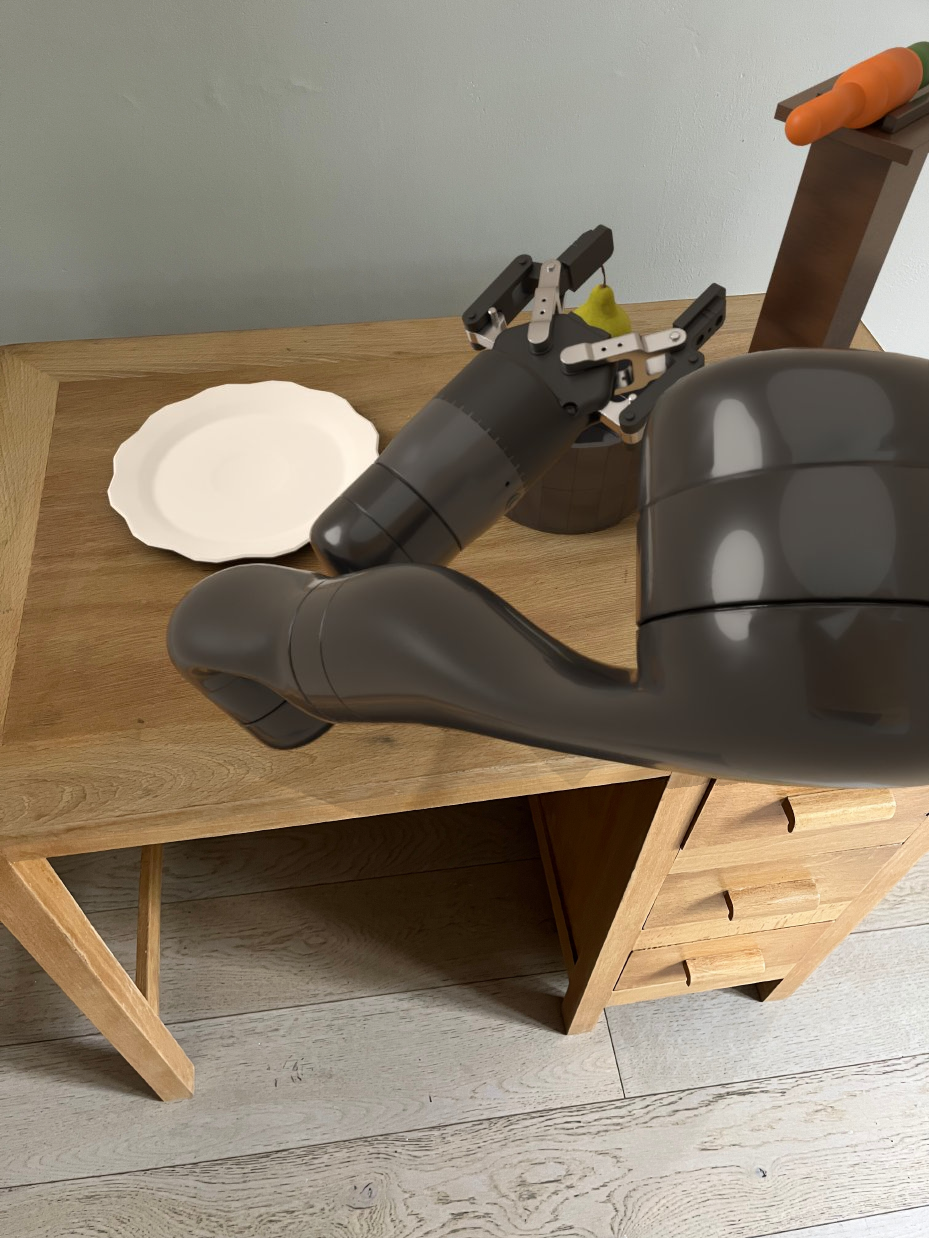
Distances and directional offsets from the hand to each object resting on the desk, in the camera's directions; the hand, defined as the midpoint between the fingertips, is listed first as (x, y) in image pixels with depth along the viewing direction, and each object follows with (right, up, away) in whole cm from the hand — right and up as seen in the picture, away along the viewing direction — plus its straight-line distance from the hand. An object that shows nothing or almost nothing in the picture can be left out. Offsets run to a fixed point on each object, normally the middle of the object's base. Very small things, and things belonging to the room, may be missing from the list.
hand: (662, 265), depth 51 cm
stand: (+17, -6, +32) cm, 37 cm away
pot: (-2, -7, +31) cm, 32 cm away
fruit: (+2, +7, +43) cm, 44 cm away
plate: (-32, -7, +31) cm, 45 cm away
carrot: (+13, +12, +5) cm, 19 cm away
